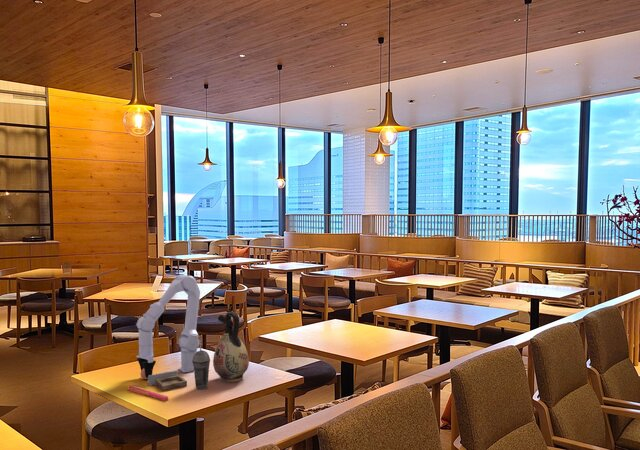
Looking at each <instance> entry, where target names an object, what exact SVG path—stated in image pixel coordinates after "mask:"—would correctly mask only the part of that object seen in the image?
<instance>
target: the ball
mask: <svg viewBox="0 0 640 450" xmlns="http://www.w3.org/2000/svg"><path fill="white" fill-rule="evenodd" d="M152 374H154V373H153V371H152ZM140 377H141V378H142V380H143V379H144V380H148V378H146V376H145V370H144V369H142V371H141V370H140Z"/></svg>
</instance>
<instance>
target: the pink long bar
mask: <svg viewBox="0 0 640 450" xmlns="http://www.w3.org/2000/svg"><path fill="white" fill-rule="evenodd" d="M128 391H131V392H134V393H137V394H140V395H144V396H148V397H151V398H154V399H158V400H161V401H163V402H167V401H168V400H169V397H168V396H167V395H166V394H165V395H164V394H162V393H158V392H155V391H151V390H147V389H145V388H142V387H139V386H136V385H129V386H128Z"/></svg>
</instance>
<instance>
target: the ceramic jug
mask: <svg viewBox="0 0 640 450" xmlns="http://www.w3.org/2000/svg"><path fill="white" fill-rule="evenodd" d="M217 320H218V322H220V323H222V324H224V328H225V330H224V332H223V335H222V336H221V338H220V340H219V342H218V343H217V345H216V347H215V350H214V353H213V359H212V366H213V369H214V371H215V373H216V374H217V375H218V376H219V378H220V379H221V381H222V382H226V383H232V382H233V383H234V382H239V381H241V380H243V379H244V374H245V373H246V372H247V370H248V368H249V365H250V357H249V353H248V352H249V351H248V350H247V348H246V345H245V344H244V343H243V341H242V339H241V337H239V331H240V330H239V329H240V317H239V315H238V313H237V312H235V311H228V312H226V314H225V315H224V314H220V315H219V316H218V317H217Z"/></svg>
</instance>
